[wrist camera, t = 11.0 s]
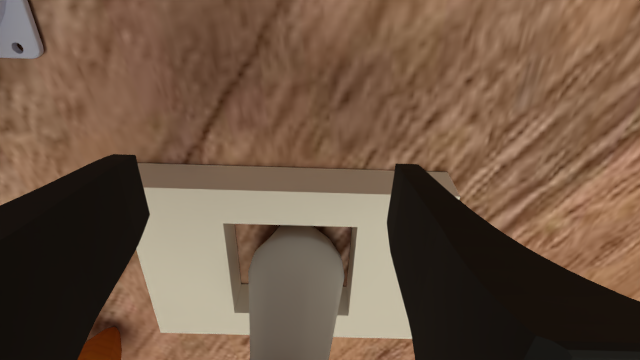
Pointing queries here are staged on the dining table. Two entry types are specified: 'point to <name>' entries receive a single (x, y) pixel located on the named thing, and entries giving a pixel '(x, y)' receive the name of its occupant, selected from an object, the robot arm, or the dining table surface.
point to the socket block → (270, 209)
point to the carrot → (103, 346)
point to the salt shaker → (294, 295)
